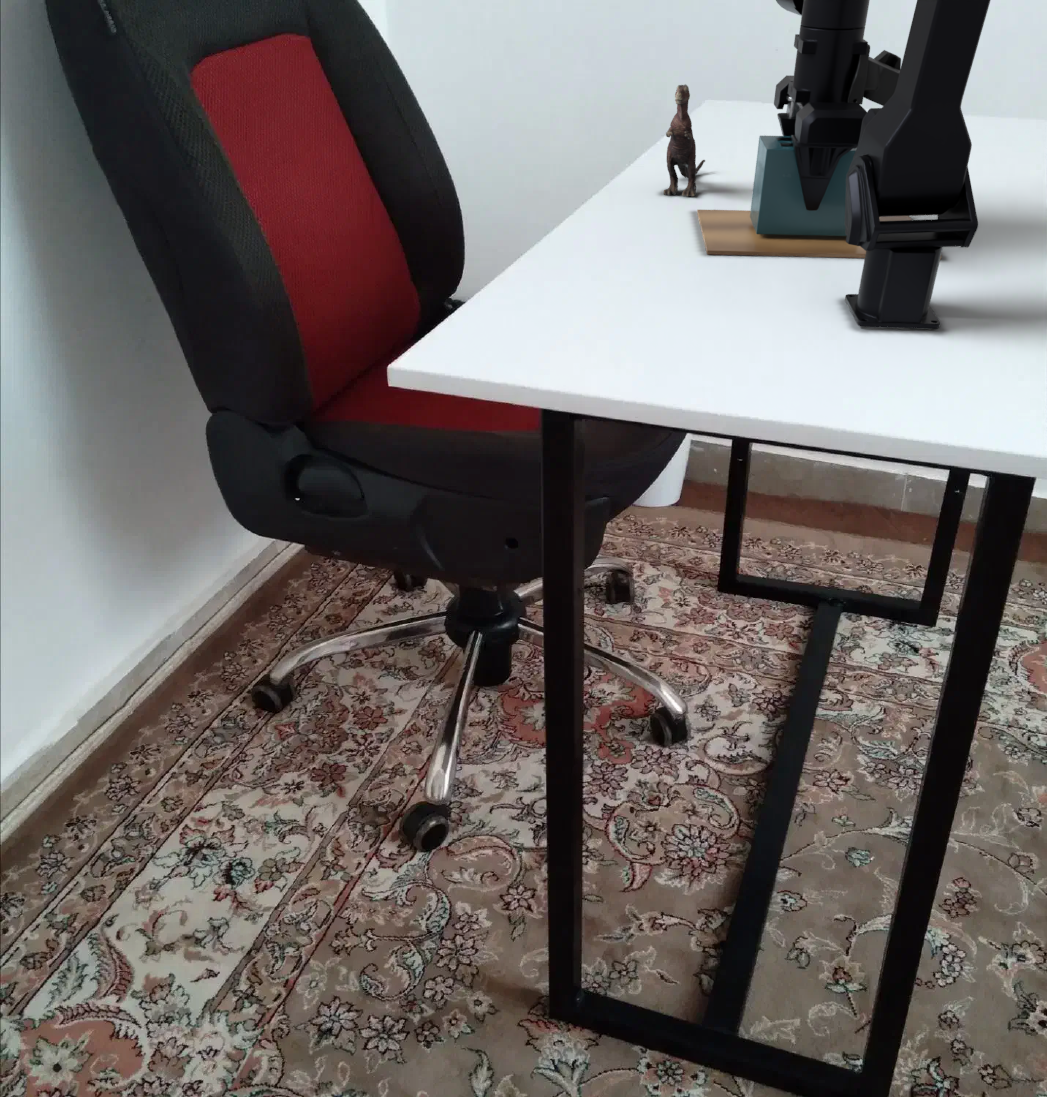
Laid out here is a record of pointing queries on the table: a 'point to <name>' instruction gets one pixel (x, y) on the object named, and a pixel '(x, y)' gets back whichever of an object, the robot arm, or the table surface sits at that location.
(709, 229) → the mat
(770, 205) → the toaster
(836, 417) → the table surface
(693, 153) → the dinosaur model
